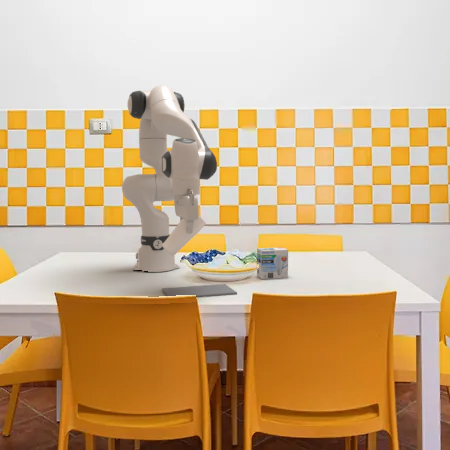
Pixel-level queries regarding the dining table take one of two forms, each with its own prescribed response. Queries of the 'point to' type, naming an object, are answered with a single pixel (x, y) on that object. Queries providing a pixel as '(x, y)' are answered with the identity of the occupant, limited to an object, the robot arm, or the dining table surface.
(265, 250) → the light bulb box
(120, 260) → the dining table surface
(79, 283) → the dining table surface
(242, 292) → the dining table surface
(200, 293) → the slate rubber mat
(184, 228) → the drinking glass
